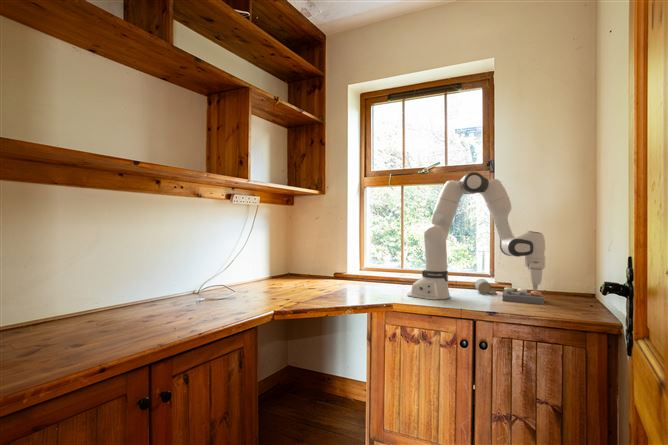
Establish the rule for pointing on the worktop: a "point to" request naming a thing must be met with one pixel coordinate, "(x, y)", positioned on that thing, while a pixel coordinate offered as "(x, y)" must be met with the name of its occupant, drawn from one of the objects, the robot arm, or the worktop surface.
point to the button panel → (522, 298)
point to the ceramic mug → (484, 287)
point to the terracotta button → (535, 293)
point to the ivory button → (521, 291)
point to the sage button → (509, 290)
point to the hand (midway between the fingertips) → (535, 290)
